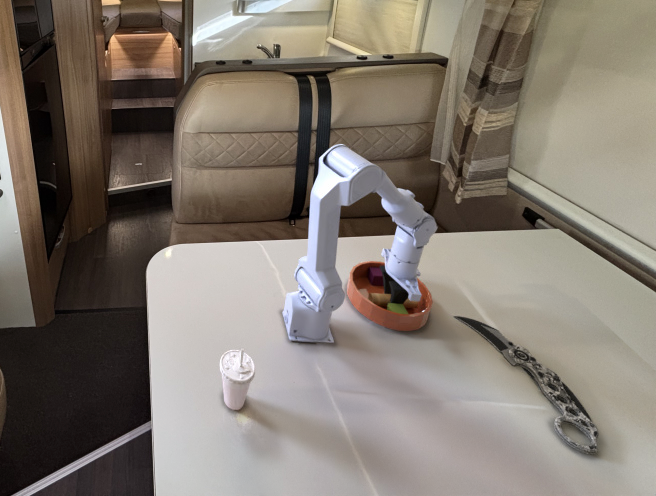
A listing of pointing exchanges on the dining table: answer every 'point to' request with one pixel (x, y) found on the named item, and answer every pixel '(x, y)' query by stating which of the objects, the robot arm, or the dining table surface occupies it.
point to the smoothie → (236, 377)
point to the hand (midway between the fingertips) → (392, 300)
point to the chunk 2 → (397, 308)
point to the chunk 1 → (375, 276)
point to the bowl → (379, 314)
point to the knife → (544, 385)
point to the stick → (385, 299)
